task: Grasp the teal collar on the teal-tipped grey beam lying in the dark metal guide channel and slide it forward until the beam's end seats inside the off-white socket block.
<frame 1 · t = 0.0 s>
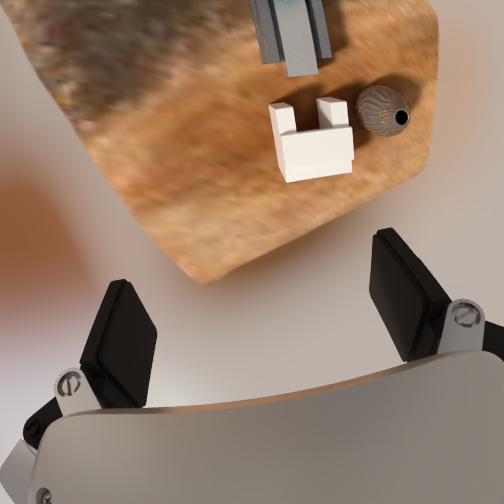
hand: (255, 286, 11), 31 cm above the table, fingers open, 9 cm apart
vase: (370, 106, 36), on the table
guide channel: (284, 12, 28), on the table
teal-tipped grey beam: (297, 18, 24), point 6 cm above the table, slide at 0.0 cm
socket block: (303, 124, 37), on the table
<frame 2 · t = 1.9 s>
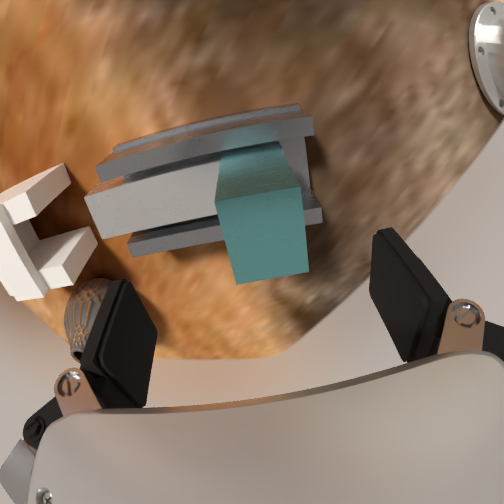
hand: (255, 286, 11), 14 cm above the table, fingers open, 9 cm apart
vase: (109, 291, 29), on the table
guide channel: (214, 169, 22), on the table
teal-tipped grey beam: (175, 210, 18), point 6 cm above the table, slide at 0.0 cm
socket block: (53, 214, 23), on the table
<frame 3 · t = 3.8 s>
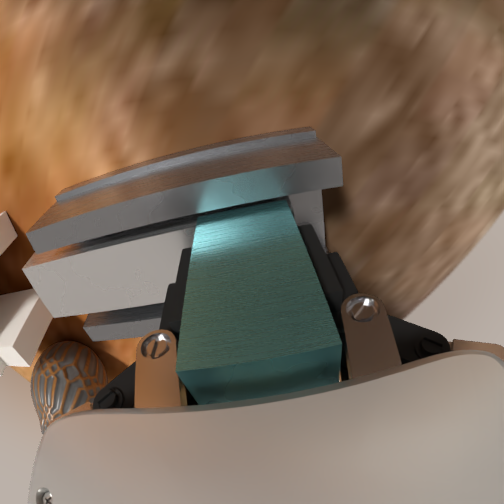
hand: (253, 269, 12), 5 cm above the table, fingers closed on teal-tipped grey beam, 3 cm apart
vase: (80, 352, 23), on the table
guide channel: (192, 221, 16), on the table
teal-tipped grey beam: (133, 305, 11), point 6 cm above the table, slide at 0.0 cm, touching gripper
socket block: (5, 269, 17), on the table
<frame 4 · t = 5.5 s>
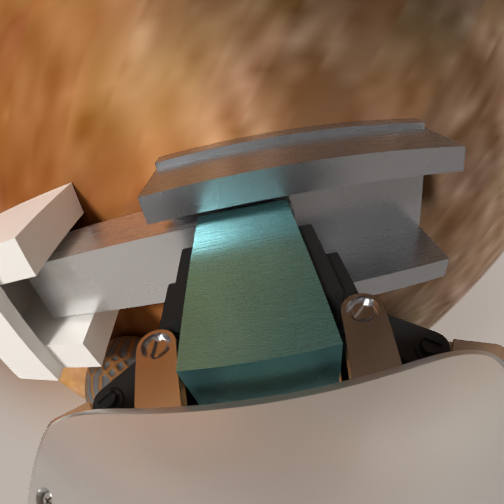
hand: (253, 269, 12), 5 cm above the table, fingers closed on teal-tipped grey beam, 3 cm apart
vase: (137, 348, 23), on the table
guide channel: (305, 199, 16), on the table
teal-tipped grey beam: (133, 305, 11), point 6 cm above the table, slide at 6.3 cm, touching gripper
socket block: (57, 254, 17), on the table
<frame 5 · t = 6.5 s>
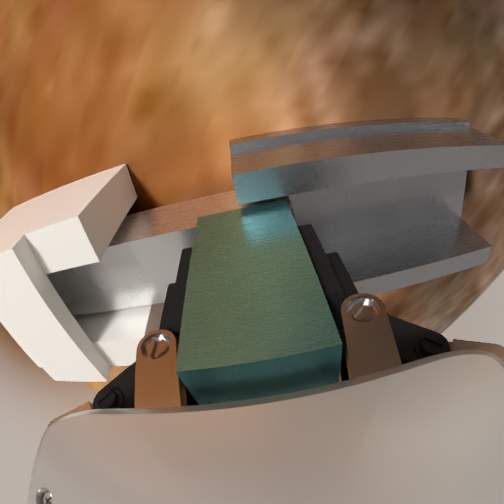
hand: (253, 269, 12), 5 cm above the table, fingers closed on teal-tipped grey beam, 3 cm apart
guide channel: (366, 189, 16), on the table
teal-tipped grey beam: (133, 305, 11), point 6 cm above the table, slide at 9.9 cm, touching gripper
socket block: (100, 243, 17), on the table
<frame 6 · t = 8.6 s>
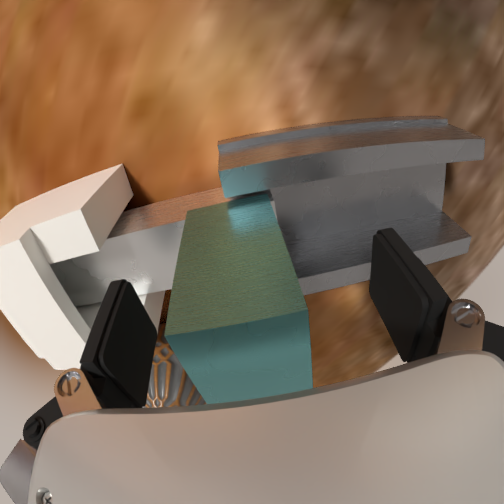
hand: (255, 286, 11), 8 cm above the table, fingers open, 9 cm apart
vase: (172, 337, 23), on the table
guide channel: (347, 185, 17), on the table
teal-tipped grey beam: (128, 292, 12), point 6 cm above the table, slide at 10.0 cm
socket block: (98, 239, 18), on the table
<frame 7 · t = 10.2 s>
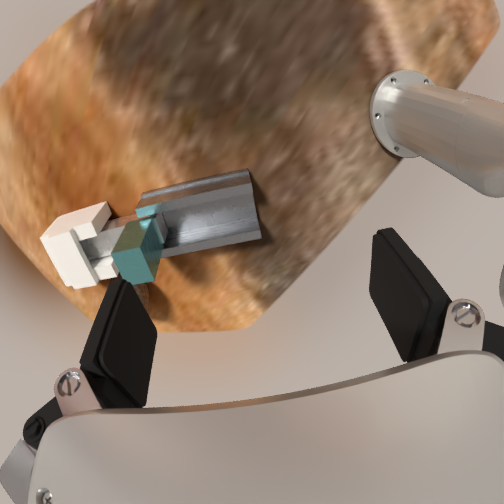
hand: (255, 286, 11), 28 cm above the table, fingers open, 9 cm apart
vase: (132, 283, 45), on the table
guide channel: (200, 207, 39), on the table
teal-tipped grey beam: (107, 250, 34), point 6 cm above the table, slide at 10.0 cm
socket block: (97, 232, 39), on the table
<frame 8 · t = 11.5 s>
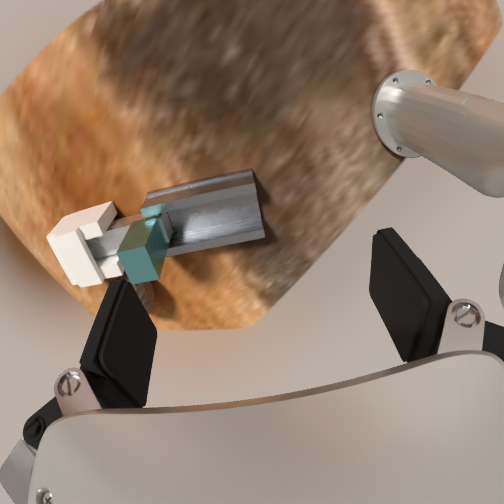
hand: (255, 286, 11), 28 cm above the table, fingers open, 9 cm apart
vase: (137, 281, 46), on the table
guide channel: (205, 207, 40), on the table
teal-tipped grey beam: (112, 249, 35), point 6 cm above the table, slide at 10.0 cm
socket block: (102, 231, 40), on the table
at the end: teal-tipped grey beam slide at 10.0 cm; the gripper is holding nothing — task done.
